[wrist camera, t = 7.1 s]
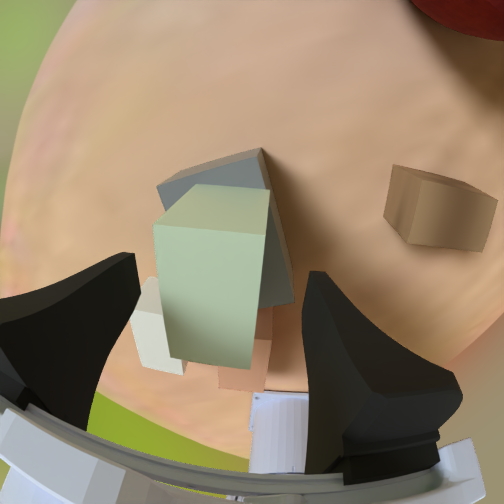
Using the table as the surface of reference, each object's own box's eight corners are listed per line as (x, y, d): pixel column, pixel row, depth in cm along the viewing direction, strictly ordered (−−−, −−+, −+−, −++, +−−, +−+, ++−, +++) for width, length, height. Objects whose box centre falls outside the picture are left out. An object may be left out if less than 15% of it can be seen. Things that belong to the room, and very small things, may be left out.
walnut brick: (463, 181, 14) (498, 200, 11) (452, 226, 16) (482, 252, 12) (392, 164, 15) (422, 179, 11) (382, 215, 16) (406, 243, 13)
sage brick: (258, 298, 15) (250, 369, 11) (197, 290, 15) (170, 357, 11) (270, 189, 12) (265, 235, 8) (196, 184, 12) (152, 224, 8)
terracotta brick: (266, 355, 23) (263, 393, 19) (226, 351, 23) (218, 388, 19) (273, 301, 20) (272, 340, 16) (226, 296, 20) (216, 334, 17)
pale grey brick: (195, 339, 23) (183, 375, 19) (158, 332, 23) (142, 366, 19) (192, 281, 20) (176, 317, 16) (149, 275, 20) (127, 307, 16)
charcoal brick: (292, 265, 19) (294, 302, 15) (221, 279, 20) (210, 316, 16) (261, 146, 15) (256, 156, 12) (182, 170, 16) (156, 186, 13)
